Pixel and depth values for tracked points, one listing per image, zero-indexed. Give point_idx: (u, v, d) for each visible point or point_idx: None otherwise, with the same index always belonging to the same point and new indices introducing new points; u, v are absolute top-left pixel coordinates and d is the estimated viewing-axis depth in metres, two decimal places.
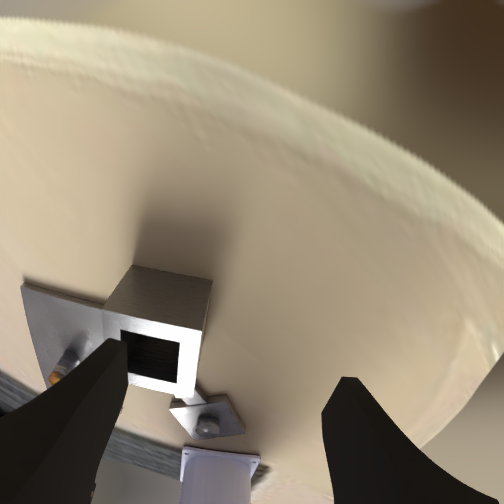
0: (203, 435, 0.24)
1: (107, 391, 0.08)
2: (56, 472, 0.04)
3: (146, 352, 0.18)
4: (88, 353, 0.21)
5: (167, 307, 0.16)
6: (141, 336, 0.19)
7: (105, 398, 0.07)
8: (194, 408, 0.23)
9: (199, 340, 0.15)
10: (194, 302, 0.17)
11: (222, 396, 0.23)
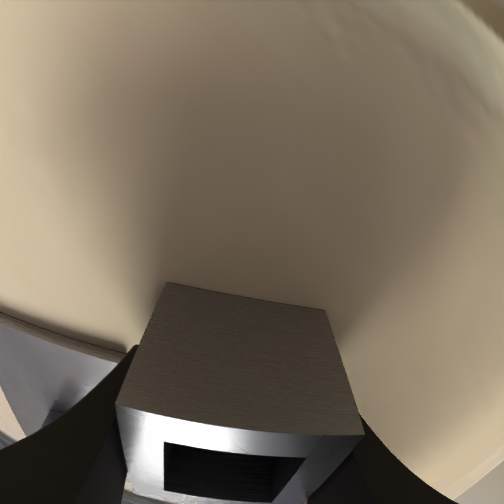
0: None
1: None
2: (96, 487, 0.04)
3: None
4: None
5: (272, 384, 0.07)
6: None
7: None
8: None
9: (350, 449, 0.06)
10: (319, 364, 0.08)
11: None
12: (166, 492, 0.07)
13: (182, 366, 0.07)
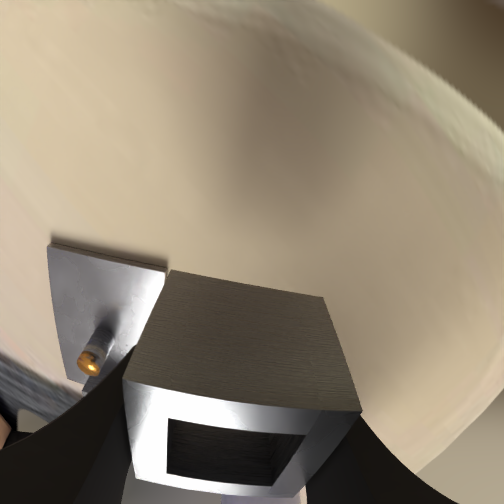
0: None
1: None
2: (96, 486, 0.04)
3: (203, 429, 0.09)
4: (128, 329, 0.19)
5: (273, 363, 0.07)
6: None
7: None
8: None
9: (348, 426, 0.06)
10: (317, 345, 0.08)
11: None
12: (169, 475, 0.07)
13: (186, 345, 0.07)
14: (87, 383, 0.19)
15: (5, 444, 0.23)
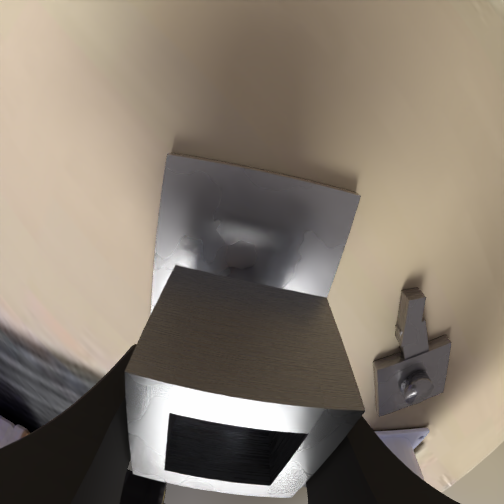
0: (411, 401, 0.16)
1: None
2: (94, 486, 0.04)
3: (202, 426, 0.09)
4: (282, 285, 0.14)
5: (276, 360, 0.07)
6: None
7: None
8: (411, 361, 0.16)
9: (350, 426, 0.06)
10: (321, 344, 0.08)
11: (443, 337, 0.16)
12: (166, 472, 0.07)
13: (190, 340, 0.07)
14: None
15: None
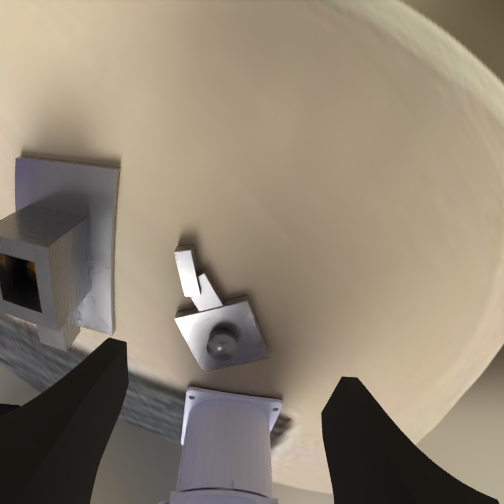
0: (216, 356, 0.20)
1: (107, 391, 0.08)
2: (56, 471, 0.04)
3: (30, 287, 0.16)
4: None
5: (32, 231, 0.14)
6: None
7: (105, 398, 0.07)
8: (207, 315, 0.20)
9: (47, 259, 0.13)
10: (59, 229, 0.15)
11: (243, 297, 0.20)
12: (4, 301, 0.14)
13: (8, 225, 0.14)
14: None
15: None
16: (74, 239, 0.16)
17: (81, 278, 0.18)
